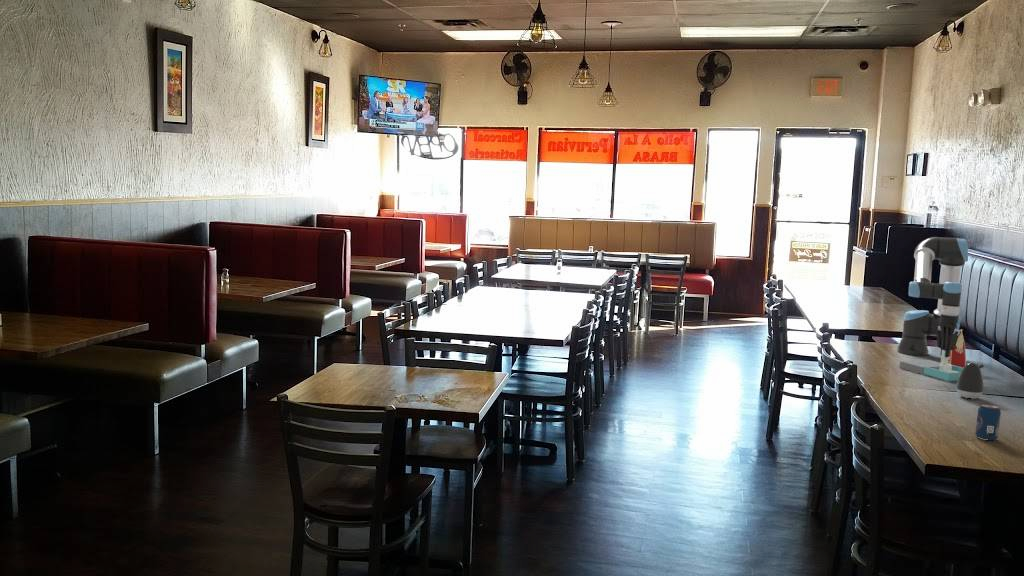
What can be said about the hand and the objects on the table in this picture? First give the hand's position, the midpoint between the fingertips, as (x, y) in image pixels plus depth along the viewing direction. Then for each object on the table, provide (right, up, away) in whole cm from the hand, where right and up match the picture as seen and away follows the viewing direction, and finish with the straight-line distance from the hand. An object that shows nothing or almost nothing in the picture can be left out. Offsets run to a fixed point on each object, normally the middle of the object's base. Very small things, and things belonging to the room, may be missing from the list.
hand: (943, 363), depth 383 cm
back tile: (0, -3, +1) cm, 3 cm away
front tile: (+2, -3, -4) cm, 5 cm away
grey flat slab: (-4, -4, +11) cm, 12 cm away
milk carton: (+13, -4, +17) cm, 22 cm away
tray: (+1, -6, -3) cm, 7 cm away
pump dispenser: (-11, -11, -41) cm, 44 cm away
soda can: (-39, -17, -99) cm, 108 cm away
